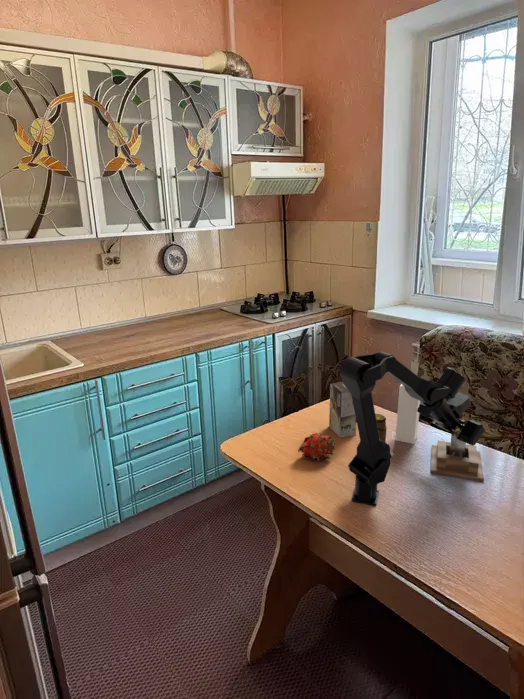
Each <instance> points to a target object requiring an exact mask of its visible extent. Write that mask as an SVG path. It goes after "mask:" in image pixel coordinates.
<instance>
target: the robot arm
mask: <svg viewBox="0 0 524 699" xmlns="http://www.w3.org/2000/svg"><path fill="white" fill-rule="evenodd" d="M338 370H339V376H340V378H341V380H342V381H341V382H343V383H344V385H345V386H346V388H347V389H348V391H349V392H350V393H351V396H352V401H353V406H354V411H355V416H356V421H357V425H356V427H357V431H358V437H359V443H358V444H357V447H356V454H355V456H354V457H353V458H352V460H350V462H349V463H348V464H347V466H348V469H349V472H351V473H353V474H354V475H355V478H354V479H355V481H354V482H355V484H354V488H353V493H352V495H351V501H352V502H355V503H361V504H366V505H372V506H377V505H378V501H379V496H380V490H378V485H379V484H381V483H383V482H385V481H386V478H387V474H388V472H389V469H390V467H391V463H392V461H391V459H393V456H391V454H390V452H391V447H390V446H391V445H390V444H389V443H387V442H386V443H385V442H384V441H382V440H380V438H379V432H378V427H377V421H376V415H375V414H376V410H375V405H374V398H373V391H374V388H375V386H376V384H377V383H376V382H377V381H379V380H381V379H383V377H384V376H385V375H386V374H388V376H390V377H392V378H393V379H394V380H395V381H397V382H398V383H400V385H401V384H402V385H403V386H404V387H405V390H406V392H407V393H408V394H409V395H410V396H411V397H413V398H415V399H417V400H419V401H420V405H419V407H418V410H417V412H419V420H420V421H421V422H423V423H424V424H426V425H427V426H428V425H430V426H431V427H432V428H434V429H437V430H439V431H441V432H445V433H447V434H450V435H451V433H452V430H454V431H455V430H456V429H457V428H458V429H460V430H459V431H460V434H459V435H458V437H457V439H459V440H461V441H463V442H465V443H466V445H472V446H476V444H477V443H478V442H479V440H480V439H481V438H482V436H483V434H484V432H485V431H486V428H485V426H484V425H483V423H480V422H478V421H475V420H474V419H470V420H463V421H461V420H462V419H463V417H464V414H463V413H464V412H465V411H466V410H467V409H469V408H471V406H472V404H471V399H470V396H469V395H468V394H465V393H463V392H460V390H461V388H462V387H463V386H464V384H465V383H466V382H467V379H466V378H465V377H464V376H463V375H461V374H460V373H458V372H457V371H455V370H454V369H453V368H452V367H446V368H445V370H444V372H443V373H442V375H441V376H440V377H439V379H438V380H437V381H433V380H430V379H424V378H422V377H420V376H419V375H417V374H416V373H414V372H413V371H412V370H411V369H409V368H408V367H407V366H406V365H404V364H403V363H402V362H400V361H399V360H398V359H397V358H396V357H395V356H394V355H393V354H390V353H388V352H387V353H386V352H384V351H376V352H373V353H369V354H361V355H356V356H350V357H346V358H345V359H344V360H343V361H342V363H341V365H340V366H339V369H338ZM459 423H460V424H459ZM455 427H456V428H455Z"/></svg>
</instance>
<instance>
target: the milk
mask: <svg viewBox="0 0 524 699" xmlns="http://www.w3.org/2000/svg"><path fill="white" fill-rule="evenodd" d="M398 392H399V393H398V402H397V404H398V405H397V416H396V427H395V441H397V442H402V443H406V444H411V445H414V444H415V442H416V440H417V438H418V429H419V420H420V413H419V412H417V410H418V407H419V405H420V404H421V401H419V400H417V399H415V398H413V397H411V396H410V395H409V394H408V393H407V392H406V390H405V387H404V386H403V385H402V384H401V383H400V385H399V390H398Z"/></svg>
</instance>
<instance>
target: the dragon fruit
mask: <svg viewBox="0 0 524 699" xmlns="http://www.w3.org/2000/svg"><path fill="white" fill-rule="evenodd" d="M335 444H336V442H335V440H334V438H332V436H329V435H327V434H324V433H322V432H319V434H318V433H316V432H315V433H311V435H310V436H306V437H305V438H304V440H303V442H302V443H301V445H300V446H299V448H298V449H297V452H298V453H299V452H301V453H303V454H301V457H303V458H305V459H311V460H314V459H316V461H317V462H320V461H321V460H323V459H326V458H329V457H330V455H332V456H333V455H334V452H333V451H335V450H336V449H335Z"/></svg>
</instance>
